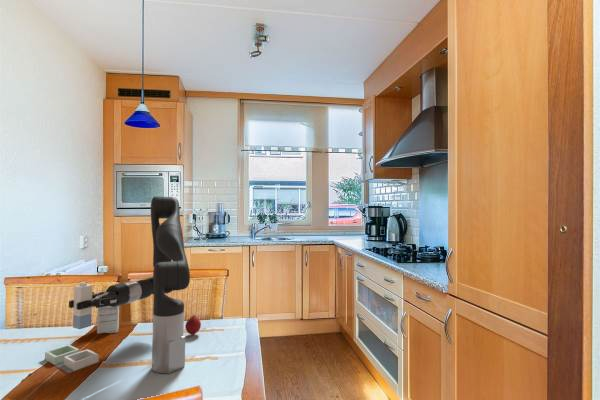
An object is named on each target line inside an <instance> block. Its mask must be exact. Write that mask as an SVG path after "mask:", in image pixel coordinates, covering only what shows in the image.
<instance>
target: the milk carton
mask: <svg viewBox="0 0 600 400" xmlns="http://www.w3.org/2000/svg"><path fill="white" fill-rule="evenodd" d="M92 292H93V284H89V283H88V282H84V281H80V282H79V284H78V285H75V286H73V300H74V308H72V309H73V310H72V311H73V312H72V313H73V314H72V315H73V316H72V328H73V329H77V330H83V329H85V328H89V327H91V326H92V320H93V319H92V315H93V313H92V312H93V311H92V310H93V308H91V307H89V308H85V309H81V310H77V309H76V307H77V303H78V302H82V301H87V300H91V299H92Z"/></svg>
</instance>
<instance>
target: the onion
mask: <svg viewBox="0 0 600 400" xmlns="http://www.w3.org/2000/svg"><path fill="white" fill-rule="evenodd" d="M184 327H185V331H186V332H187V333H188V335H191V336H194V335H196V334H197V333H198V332H199V331H200V329H201V327H202V324H201V320H200V319H199V318H198V317H196V314H192V315H191V317H189V318H188V320H187V321H186V323H185V325H184Z"/></svg>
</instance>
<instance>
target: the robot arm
mask: <svg viewBox="0 0 600 400" xmlns="http://www.w3.org/2000/svg"><path fill="white" fill-rule="evenodd" d="M180 212H181V211H180V202H179V200H178V198H177V197H173V196H153V197H152V199H151V202H150V221H151V222H150V223H151V225H150V226H151V234H152V244H153V245H152V246H153V251H152V252H153V254H152V267H153V271H152V274H153V275H152V276H151V277H147V278H144V279H138V280H134V281H125V282H121V283H115V284H112V285H110V286H108V287H107V289H106V290H105V291H99V292H96V293H95V291H92V299H91V300H87V301H82V302H78V303H77V307H76V309H77V310H81V309H85V308H89V307H91V308H92V309H93V308H97V309H98V308H99V307H105V306H111V307H117V306H119V307H120V306H124V305H127V304H131V303H134V302H137V301H139V300H140V301H141V300H143V299H146V298H149V297H151V296H152V295H153V307H152V308H153V309H152V338H151V339H152V340H151V341H152V344H151V345H152V346H151V351H152V352H151V370H152V372H153V373H157V374H168V375H169V374H171V373H173V372H176V371H177V370H179V369H182V368H184V367H185V364H186V362H185V361H186V336H185V335H184V331H185V330H184V327H185V325H184V324H185V303H184V302H183V301H182V300H181V299H178V298H173V297H171V296H169V295H166V294H169V293H172V292H174V291H182V290H185V289H187V288H188V287H189V285H190V281H191V273H190V272H191V271H190V267H189V262H188V259H187V256H186V251H185V242H184V235H183V233H184V232H183V229H182V223H181V217H180V216H181V213H180ZM160 219H163V220H164V219H165V220H164V221H162V223H161V224H160ZM68 308H70V309H73V308H74V299H72V300H69V302H68Z"/></svg>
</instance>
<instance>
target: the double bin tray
mask: <svg viewBox="0 0 600 400" xmlns="http://www.w3.org/2000/svg"><path fill="white" fill-rule="evenodd" d="M99 355H100V354H99V353H96V352H94V351H92V350H91V349H88V348H87V349H84V350H81V351H80V349H79V348H77V347H75V346H73V345H71V344H67V345H63V346H60V347H56V348H53V349H50V350H47V351H45V352H44V361H46V362H48V363H50V364H52V365H53V366H54V367H57V368H58V369H60V370H62V371H63V372H65V373H67V374H71V373H74V372H77V371H80V370H83V369H84V368H88V367H90V366H93V365H95V364H98V363H99V357H100V356H99Z"/></svg>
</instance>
